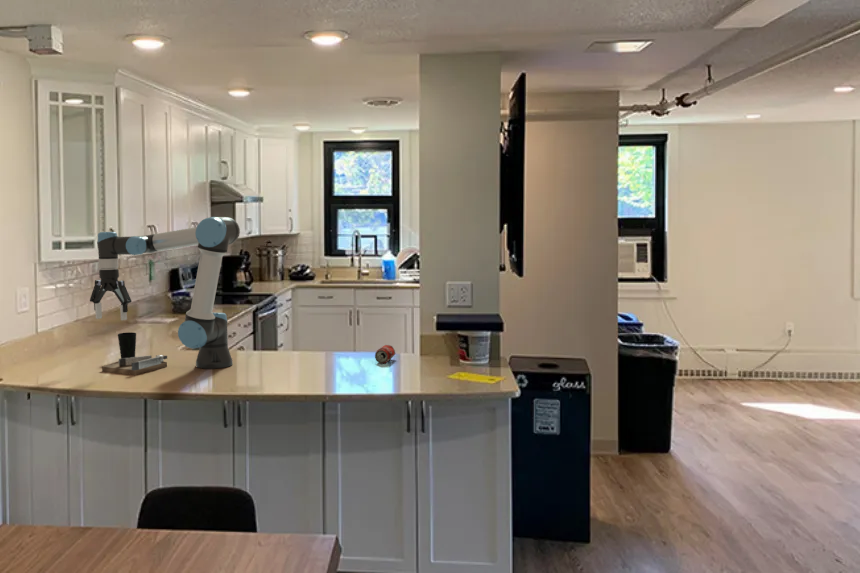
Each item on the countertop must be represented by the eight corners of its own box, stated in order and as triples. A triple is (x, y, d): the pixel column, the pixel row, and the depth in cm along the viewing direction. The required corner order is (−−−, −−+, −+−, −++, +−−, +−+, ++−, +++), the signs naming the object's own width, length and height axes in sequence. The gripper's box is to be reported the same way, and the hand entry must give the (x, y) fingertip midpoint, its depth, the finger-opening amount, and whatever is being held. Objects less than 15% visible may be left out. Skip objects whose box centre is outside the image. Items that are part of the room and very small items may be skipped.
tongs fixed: (169, 361, 324) (169, 354, 323) (134, 370, 305) (134, 363, 305) (162, 360, 325) (162, 353, 325) (127, 369, 307) (127, 362, 307)
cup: (130, 362, 332) (129, 335, 331) (115, 361, 334) (114, 334, 332) (140, 359, 340) (139, 332, 338) (125, 358, 341) (124, 332, 340)
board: (167, 366, 323) (166, 362, 322) (135, 375, 306) (134, 370, 306) (135, 363, 330) (134, 358, 330) (102, 371, 313) (101, 366, 313)
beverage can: (373, 364, 327) (373, 349, 326) (380, 359, 339) (379, 344, 338) (389, 364, 326) (389, 349, 325) (395, 359, 338) (395, 344, 337)
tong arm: (151, 362, 320) (151, 355, 320) (119, 366, 313) (119, 359, 312) (151, 362, 321) (150, 355, 321) (119, 365, 314) (118, 358, 313)
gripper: (138, 268, 314) (141, 319, 316) (93, 267, 323) (95, 316, 325) (125, 270, 307) (128, 321, 309) (79, 268, 316) (81, 319, 318)
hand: (111, 319), depth 317 cm, fingers open, 13 cm apart
